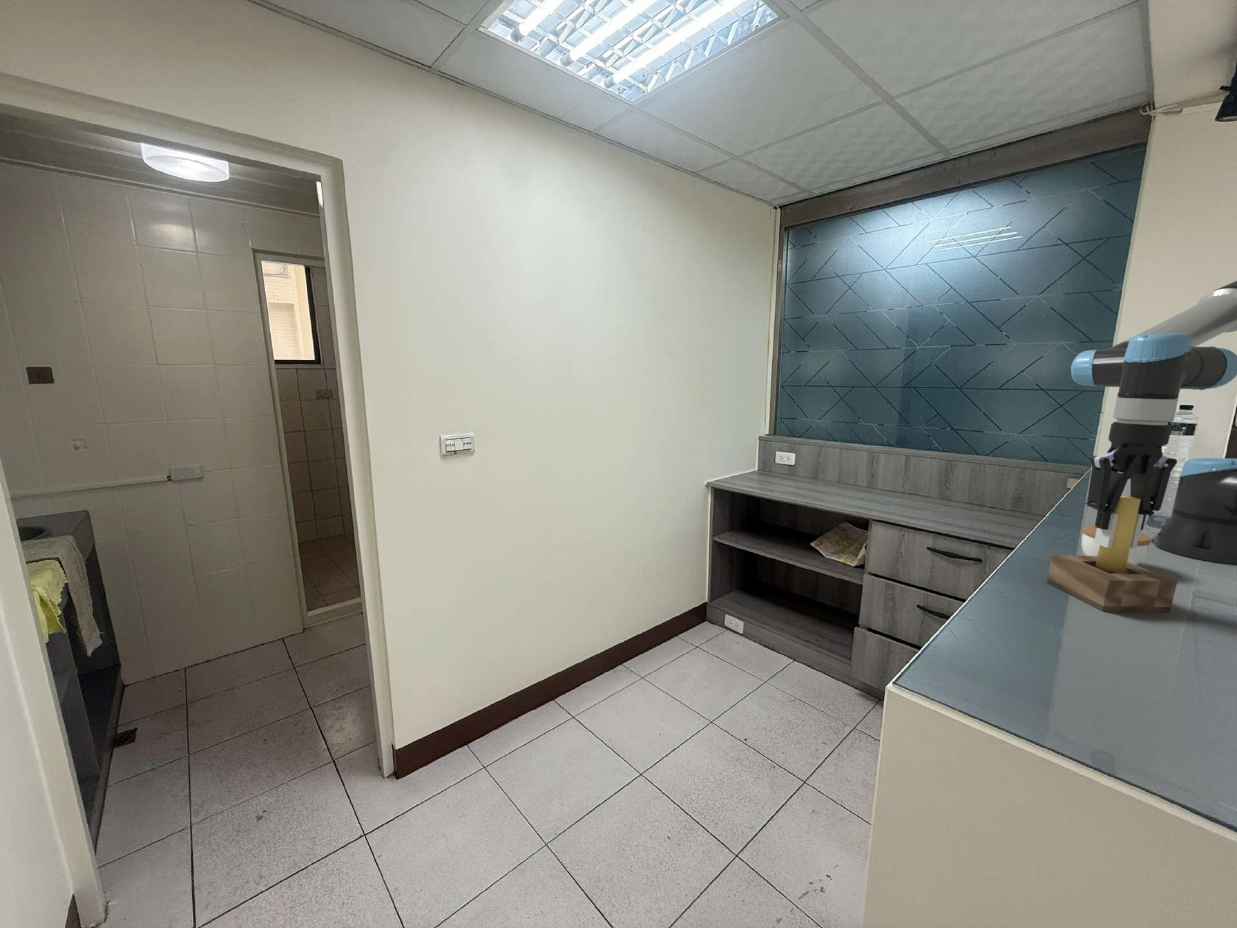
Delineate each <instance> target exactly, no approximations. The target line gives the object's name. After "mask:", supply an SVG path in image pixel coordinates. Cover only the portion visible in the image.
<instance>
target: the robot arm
mask: <svg viewBox="0 0 1237 928" xmlns="http://www.w3.org/2000/svg"><path fill="white" fill-rule="evenodd" d="M1232 332H1237V280H1235V281H1233V282H1230V283H1228V284H1225V285H1223V286H1221V287H1220V288H1216V289H1215V290H1213V291H1210V292H1209V293H1207V294H1205V295H1204V296H1203V297H1202V298H1201V299H1200V300H1199V301H1198V302H1197V304H1196V305H1193V306H1192V307H1190V308H1187V309H1186V310H1184V311H1182V312H1179V313H1178V314H1175V315H1173V316H1172V317H1170V318H1168V319H1166V320H1164V321H1161V322H1160V323H1158V324H1156V325H1154V326H1151V327H1149V328H1148V329H1145V330H1143V331H1142V332H1139V333H1138V334H1135V335H1133V336H1131V337H1129V338H1128V339H1126V340H1124V341H1122V342H1120V343H1119V342H1118V344H1115V345H1113V346H1111V347H1109V348H1106V349H1100V348H1099V349H1098V348H1097V349H1093V350H1092V349H1091V350H1085V351H1082V352H1080V353H1078V354H1077V356H1075V357H1074V359H1073V361H1072V363H1071V366H1070V372H1071V375H1070V376H1071V379H1072V380H1073V382H1074V383H1076V384H1078V385H1080V386H1086V387H1087V386H1090V387H1094V388H1100V387H1101V388H1106V387H1107V388H1108V387H1109V388H1118V392H1117V397H1116V401H1115V407H1114V410H1113V415H1112V418H1113V419H1115V420H1116V421H1113V423H1111V424H1110V428H1109V434H1108V441H1109V442H1110V447H1109V448H1108V450H1107V452H1106V453H1104V454H1102V455H1092V456H1091V457H1090V459H1089V460H1090V465H1091V474H1090V481H1089V488H1088V494H1087V500H1086V505H1087V507H1089V508H1092V509H1093V510H1096V511H1097V513H1096V517H1095V523H1094V525H1095V527H1097V530H1096V535H1095V540H1094V543H1096V544H1098V545H1101V546H1104V547H1106V548H1112V543H1113V539H1114V534H1115V529H1116V525H1117V520H1118V515H1119V514H1115V513H1114V511H1115V509H1116V507H1117V504H1118V502H1119V500H1120V497H1121V495H1122V494H1123V492H1124V491H1125V488H1126V485H1127V483H1128V480H1130V489H1129V490H1130V492H1129V493H1130V494H1129V495H1130V497H1135V498H1139V499H1141V501H1140V505H1139V510H1138V514H1137V519H1136V523H1135V528H1134V532H1133V537H1132V542H1131V546H1130V548H1137V543H1138V539H1139V534H1140V533H1141V531H1143V529H1144V526H1145V521H1146V517H1147V516H1153V515H1155V512H1159V511H1160V510H1161V509H1162V505H1163V503H1164V502H1163V501H1164V498H1165V494H1166V491H1167V487H1168V484H1169V480H1170V478H1171V477H1170V476H1171V473H1172V471H1173V469H1174V468H1175V467H1176V465H1177V464H1178V459H1176V458H1172V457H1167V456H1165V455H1164V453H1163V449H1162V447H1165V446H1168V444H1169V441H1170V437H1171V433H1172V427H1171V425H1169V423H1172V422H1174V421H1175V416H1176V412H1177V406H1178V402H1179V396H1180V391H1181V390H1199V391H1204V390H1205V391H1206V390H1208V389H1217V388H1220V387H1223V386H1225V385H1227V384H1228V383H1230V382H1232V381H1233V380H1235V378H1236V376H1237V354H1236V353H1235V352H1233V351H1231V350H1230V349H1227V348H1223V347H1217V346H1200V345H1201V344H1204V343H1206V342H1208V341H1209V340H1212V339H1214V338H1216V337H1217V336H1220V335H1221V334H1224V333H1225V334H1226V333H1232ZM1178 478H1179V479H1178V484H1177V489H1176V491H1175V497H1174V503H1173V507H1172V511H1171V515H1170V517H1169V518H1168V519H1167V521H1166V522H1165V523H1164V525H1163V526H1162V527H1161V529H1160V531H1159V532H1158V533H1157V534H1156V535H1155V539H1154V543H1153V544H1154V545H1155V547H1157V548H1160V549H1162V550H1164V551H1166V552H1169V553H1172V554H1175V555H1180V556H1183V557H1189V558H1193V559H1196V560H1201V561H1203V560H1204V561H1207V562H1214V563H1221V564H1232V565H1233V564H1234V565H1237V458H1229V457H1228V458H1226V457H1224V458H1222V457H1220V458H1219V457H1218V458H1217V457H1216V458H1214V457H1213V458H1211V457H1209V458H1208V457H1205V458H1204V457H1202V458H1201V457H1200V458H1191V459H1188V460H1186V461H1185V462H1184V463H1183V466H1182V470H1181V471H1180V474H1179V475H1178Z"/></svg>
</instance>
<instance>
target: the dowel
mask: <svg viewBox="0 0 1237 928" xmlns="http://www.w3.org/2000/svg"><path fill="white" fill-rule="evenodd" d="M1140 501H1141V499H1139V498H1135V497H1130V496H1129V495H1121V497H1120V500H1119V502H1118V504H1117V507H1116V509H1115V511H1114V513H1115V514H1119V515H1118V520H1117V525H1116V529H1115V534H1114V539H1113V543H1112V548H1106V547H1104V546H1101V545H1100V546H1099V551H1098V556H1097V560H1096V565H1095V566H1096V567H1097V568H1100V569H1102V570H1106V571H1110V572H1116V573H1124V572H1125V569H1126V564H1127V560H1128V555H1129V551H1130V546H1131V542H1132V537H1133V532H1134V528H1135V523H1136V519H1137V514H1138V510H1139V505H1140Z"/></svg>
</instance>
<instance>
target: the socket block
mask: <svg viewBox="0 0 1237 928" xmlns="http://www.w3.org/2000/svg"><path fill="white" fill-rule="evenodd" d="M1096 560H1097V556H1086V555H1067V554H1066V555H1061V554H1059V555H1057V554H1055V555H1051V558H1050V563H1049V569H1048V575H1047V581H1046V584H1048V585H1050V586H1052V587H1054V588H1056V589H1058V590H1060V591H1062V592H1064V593H1066V594H1067V595H1070V596H1072V597H1074V598H1075V599H1077V600H1080V601H1082V602H1084V603H1086V604H1088V605H1089V606H1092V607H1093V608H1096V609H1097V610H1099V611H1101V612H1133V613H1134V612H1136V613H1171V611H1172V610H1171V609H1172V605H1173V601H1174V596H1175V593H1176V588H1177V585H1178V581H1177V580H1174V579H1172V578H1170V577H1167V576H1164V575H1162V574H1160V573H1156V572H1154V571H1152V570H1150V569H1146V568H1144V567H1142V566H1139V565H1134V564H1131V563H1129V562H1127V564H1126V569H1125V572H1124V573H1116V572H1110V571H1106V570H1102V569H1100V568H1097V567H1096V566H1095V565H1096Z"/></svg>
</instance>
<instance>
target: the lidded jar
mask: <svg viewBox="0 0 1237 928" xmlns="http://www.w3.org/2000/svg"><path fill="white" fill-rule="evenodd" d="M1081 530H1082V531H1081V533H1082V534H1081V549H1082V552H1083V553H1084V556H1098V551H1099V546H1100V545H1098V544H1096V543H1094V540H1095V535H1096V530H1097V527H1095V524H1093V525H1092V524H1091V525H1085V526H1083V527H1082V529H1081ZM1151 542H1152V538H1151V537H1150V536H1148V535H1147V534H1144V533H1141V532H1140V534H1139V539H1138V543H1137V548H1130V551H1129V555H1128V560H1127V562H1129V563H1131V564H1134V565H1136V566H1139V565H1140V563H1142V561H1144V559H1145V557H1146V555H1147V553H1148V551H1149V548H1150V547H1149V546H1150V544H1151Z"/></svg>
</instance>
